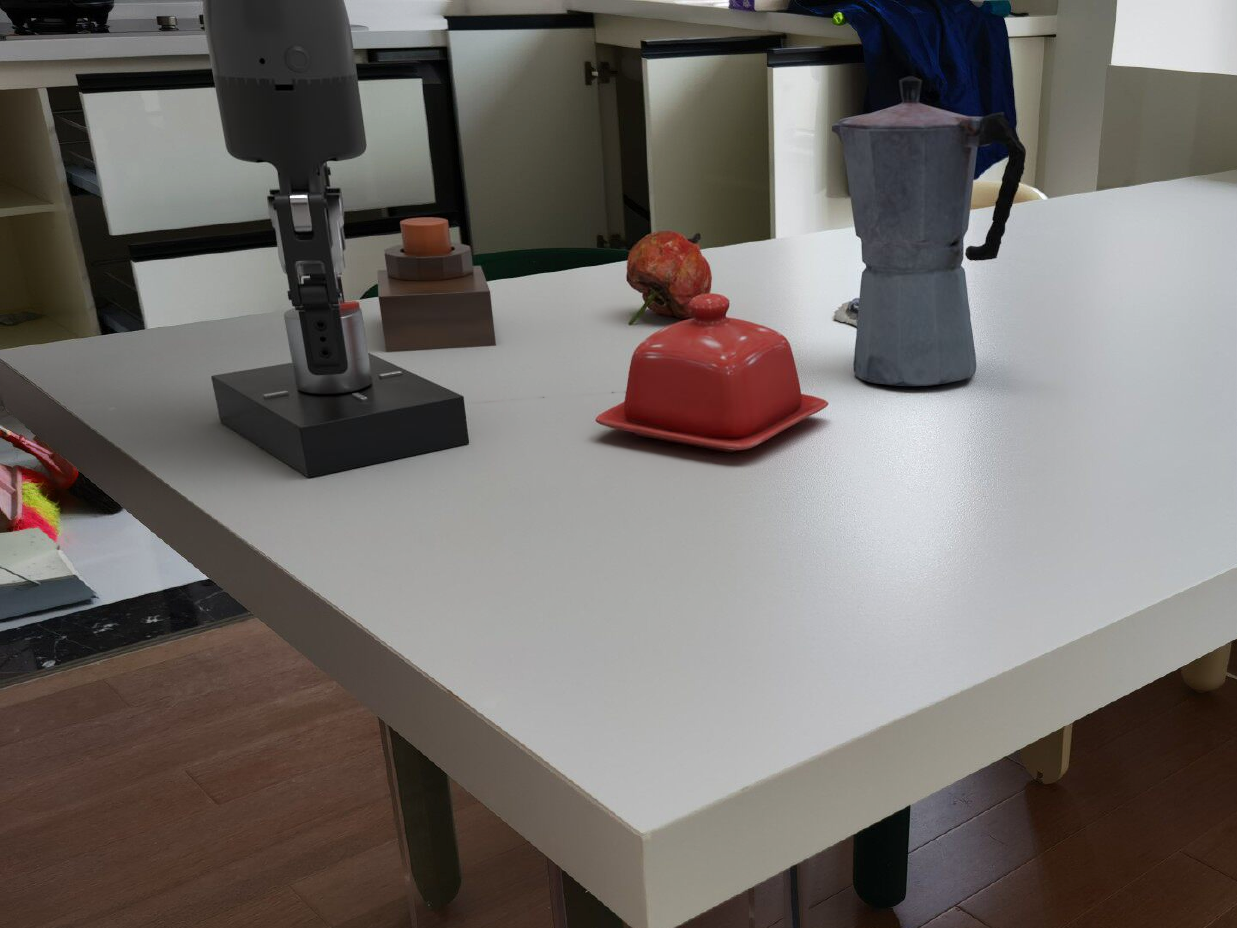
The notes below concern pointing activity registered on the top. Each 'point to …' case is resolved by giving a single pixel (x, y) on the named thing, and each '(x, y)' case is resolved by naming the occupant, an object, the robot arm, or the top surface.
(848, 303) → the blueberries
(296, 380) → the hob knob
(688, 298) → the pomegranate
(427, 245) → the button
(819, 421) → the top surface
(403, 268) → the control block
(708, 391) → the butter dish
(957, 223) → the moka pot
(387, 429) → the panel
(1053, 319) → the top surface
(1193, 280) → the top surface
